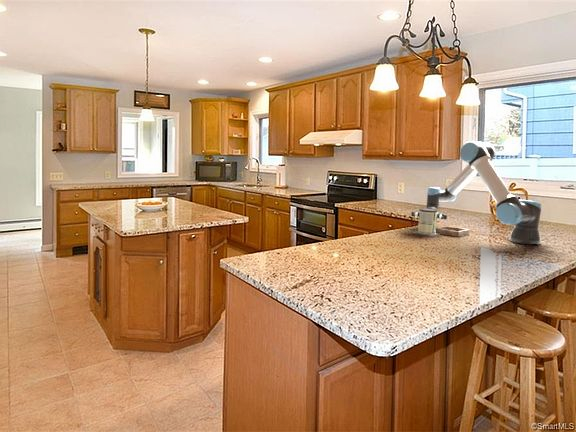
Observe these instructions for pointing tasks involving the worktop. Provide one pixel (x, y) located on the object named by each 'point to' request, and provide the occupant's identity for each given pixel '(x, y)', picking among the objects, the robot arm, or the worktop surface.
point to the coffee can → (427, 221)
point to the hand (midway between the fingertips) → (427, 217)
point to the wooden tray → (452, 231)
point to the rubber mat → (427, 234)
